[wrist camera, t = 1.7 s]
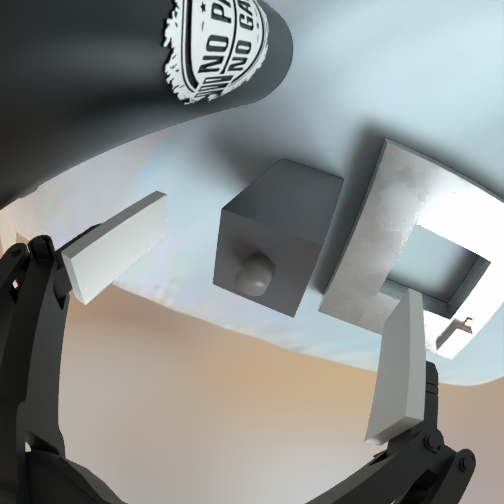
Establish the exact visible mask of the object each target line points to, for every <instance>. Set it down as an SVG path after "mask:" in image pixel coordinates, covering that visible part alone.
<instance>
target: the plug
mask: <svg viewBox="0 0 504 504" xmlns="http://www.w3.org/2000/svg"><path fill="white" fill-rule="evenodd" d="M343 181H344V179H342V178H339V177H337V176H334V175H331V174H328V173H325V172H322V171H320V170H317V169H314V168H311V167H308V166H305V165H302V164H298V163H295V162H292V161H289V160H286V159H281V160H279V161H278V162H277V163H276V164H274V165H273V166H272V167H271V168H270V169H268V170H267V171H266V172H265V173H263V174H262V175H261V176H260V177H259V178H257V179H256V180H255V181H254V182H253V183H251V184H250V185H249V186H248V187H247V188H245V189H244V190H243V191H242V192H241V193H239V194H238V195H237V196H236V197H235V198H234V199H232V200H231V201H230V202H229V203H228V204H226V205H225V206H224V207H223V208H222V210H221V217H220V226H219V234H218V242H217V251H216V260H215V269H214V279H213V284H214V285H217V286H219V287H221V288H223V289H226V290H228V291H230V292H233V293H235V294H237V295H240V296H242V297H244V298H247V299H249V300H252V301H254V302H256V303H259V304H261V305H264V306H266V307H269V308H271V309H273V310H276V311H278V312H281V313H283V314H286V315H288V316H291V317H293V318H294V316H295V313H296V311H297V309H298V306H299V304H300V301H301V299H302V297H303V294H304V292H305V289H306V287H307V285H308V282H309V280H310V277H311V275H312V272H313V270H314V267H315V265H316V262H317V259H318V257H319V254H320V252H321V249H322V246H323V244H324V241H325V238H326V235H327V232H328V229H329V226H330V223H331V220H332V216H333V213H334V210H335V207H336V204H337V201H338V197H339V194H340V191H341V188H342V184H343Z"/></svg>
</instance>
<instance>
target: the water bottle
mask: <svg viewBox="0 0 504 504" xmlns="http://www.w3.org/2000/svg"><path fill="white" fill-rule="evenodd" d="M292 56H293V41H292V36H291V33H290V30H289V28H288V26H287V24H286V22H285V21H284V20H283V18H282V17H281V16H280V15H279V14H278V13H277V12H276V11H275V10H273V9H272V8H271V7H270V6H269V5H267V4H266V3H265V2H264V1H262V0H0V210H1V209H3V208H4V207H6V206H7V205H9V204H10V203H12V202H13V201H15V200H16V199H18V198H19V197H21V196H23V195H24V194H26V193H28V192H29V191H31V190H32V189H34V188H36V187H38V186H39V185H41V184H43V183H44V182H46V181H48V180H50V179H52V178H53V177H55V176H57V175H59V174H61V173H63V172H65V171H66V170H68V169H70V168H72V167H74V166H76V165H78V164H80V163H82V162H84V161H86V160H88V159H91V158H93V157H95V156H97V155H99V154H101V153H104V152H106V151H108V150H110V149H113V148H115V147H117V146H120V145H122V144H124V143H127V142H129V141H132V140H134V139H137V138H139V137H142V136H145V135H147V134H150V133H153V132H155V131H158V130H161V129H164V128H167V127H170V126H173V125H176V124H179V123H182V122H185V121H188V120H191V119H194V118H198V117H201V116H204V115H208V114H211V113H215V112H219V111H222V110H226V109H230V108H234V107H238V106H242V105H247V104H250V103H253V102H256V101H258V100H260V99H262V98H264V97H266V96H267V95H269V94H270V93H271V92H272V91H274V90H275V89H276V88H277V87H278V86H279V84H280V83H281V82H282V81H283V79H284V78H285V76H286V74H287V72H288V70H289V68H290V65H291V61H292Z"/></svg>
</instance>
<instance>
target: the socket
mask: <svg viewBox="0 0 504 504" xmlns="http://www.w3.org/2000/svg"><path fill="white" fill-rule="evenodd" d="M415 223H416V224H418V225H420V226H422V227H424V228H427V229H429V230H431V231H433V232H435V233H437V234H439V235H441V236H443V237H445V238H447V239H450V240H452V241H454V242H456V243H457V244H459V245H461V246H463V247H465V248H467V249H469V250H471V251H473V252H475V253H477V254H479V255H480V256H479V257H478V259H477V261H476V262H475V264H474V265H473V267H472V269H471V270H470V272H469V273H468V275H467V276H466V278H465V279H464V281H463V282H462V284H461V285H460V286H459V288H458V289H457V291H456V292H455V294H454V295H453V296H452V298H451V299H450V300H449V302H448V303H447V304H446V303H444V302H442V301H439V300H437V299H435V298H432V297H430V296H427V295H425V294H423V293H422V302H423V313H424V327H425V350H426V351H429V352H432V353H435V354H437V355H440V356H443V357H446V358H449V359H452V358H453V357H455V356H456V355H457V354H458V353H459V351H460V350H461V349H462V348H463V347H464V346H465V345H466V344H467V343H468V342H469V341H470V340H471V339H472V338H473V337H474V336H475V335H476V333H477V332H478V331H479V330H480V329H481V328H482V327H483V325H484V324H485V323H486V322H487V321H488V320H489V318H490V317H491V316H492V315H493V314H494V312H495V311H496V310H497V309H498V307H499V306H500V305H501V303H502V302H503V301H504V200H503V199H502V198H500V197H499V196H497V195H496V194H494V193H493V192H491V191H490V190H488V189H486V188H485V187H483V186H481V185H480V184H478V183H476V182H475V181H473V180H471V179H470V178H468V177H466V176H464V175H462V174H461V173H459V172H457V171H455V170H453V169H451V168H450V167H448V166H446V165H444V164H442V163H440V162H438V161H436V160H434V159H432V158H430V157H428V156H426V155H423V154H421V153H419V152H417V151H415V150H413V149H410V148H408V147H406V146H404V145H401V144H399V143H397V142H394V141H392V140H389V139H387V138H385V140H384V144H383V147H382V150H381V153H380V156H379V159H378V161H377V164H376V167H375V170H374V173H373V176H372V179H371V181H370V184H369V187H368V189H367V192H366V195H365V197H364V200H363V203H362V205H361V208H360V210H359V213H358V215H357V218H356V221H355V223H354V225H353V228H352V230H351V233H350V235H349V238H348V240H347V242H346V245H345V247H344V249H343V252H342V254H341V256H340V259H339V261H338V263H337V265H336V268H335V270H334V272H333V274H332V277H331V279H330V281H329V283H328V285H327V287H326V289H325V292H324V294H323V296H322V299H321V303H320V306H319V309H318V311H319V312H322V313H324V314H327V315H330V316H332V317H335V318H338V319H340V320H343V321H345V322H348V323H351V324H353V325H356V326H359V327H361V328H364V329H367V330H370V331H372V332H375V333H378V334H381V335H382V332H383V325H384V323H385V322H386V320H387V319H388V318H389V316H390V315H391V313H392V312H393V310H394V309H395V308H396V306H397V305H398V303H399V302H400V300H401V299H402V297H403V296H404V294H405V293H406V291H407V290H408V287H406V286H403V285H401V284H398V283H396V282H393V281H391V280H388V279H386V277H387V276H388V274H389V272H390V270H391V269H392V267H393V265H394V263H395V261H396V259H397V258H398V256H399V254H400V252H401V250H402V248H403V246H404V244H405V243H406V241H407V239H408V237H409V235H410V233H411V231H412V229H413V227H414V225H415Z"/></svg>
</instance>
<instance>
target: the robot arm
mask: <svg viewBox="0 0 504 504" xmlns="http://www.w3.org/2000/svg"><path fill="white" fill-rule="evenodd" d="M36 189H37V187H36V188H34V189H32V190H31V191H29V192H28V193H26V194H24V195H23V196H21V197H19V198H22V197H25V196H27V195H29V194H30V193H32V192H34V191H35V190H36ZM166 236H167V194H164V193H161V192H159V191H155V192H153V193H152V194H150V195H148V196H146V197H145V198H143V199H141V200H140V201H138V202H136V203H134V204H133V205H131V206H129V207H128V208H126V209H125V210H123V211H121V212H120V213H118V214H117V215H115V216H113V217H112V218H110V219H109V220H107V221H105V222H104V223H102V224H101V223H100V224H97V225H95V226H92V227H90V228H88V229H87V230H85V231H84V232H83V233H81V234H79V235H78V236H77V237H75V238H74V239H72V240H71V241H69V242H68V243H66V244H65V245H64V246H62V247H61V248H59V249H58V250H57V251H55V250H54V246H53V242H52V239H51V237H50V236H48V235H40V236H37V237H35V238H33V239H32V240H31V241H29V243H28V244H27V245H28V248H29V251H30V253H29V252H28V249H27V246H26V245H25V244H24V243H16V244H14V245H13V246H11V247H10V248H9V249H8V250H7V251H6V252H5V254H4V255H3V257H2V258H1V259H0V504H127V503H125V502H123V501H121V500H120V499H119V498H118V497H117V496H116V494H115V493H114V492H113V491H112V490H111V489H110V488H109V487H108V486H107V485H106V484H105V482H103V481H102V480H101V479H99V478H98V477H97V476H95V475H94V474H93V473H92V472H90V471H89V470H88V469H87V468H85V467H83V466H80V465H78V464H76V463H74V462H72V461H70V460H68V459H66V458H65V446H64V440H63V436H62V434H61V432H60V430H59V425H58V394H59V375H60V362H61V352H62V343H63V335H64V328H65V322H66V315H67V309H68V304H69V299H70V298H69V297H70V295H69V291H71V289H73V292H74V294H75V297H76V298H77V299H78V300H79V301H81V302H82V303H83V304H85V305H86V304H87V303H88V302H89V301H91V299H93V298H94V297H95V296H96V295H97V294H98V293H100V292H101V291H102V290H103V289H104V288H105V287H106V286H107V285H108V284H110V283H111V282H112V281H113V280H114V279H116V278H117V277H118V276H119V275H120V274H121V273H122V272H124V271H125V270H126V269H127V268H128V267H130V266H131V265H132V264H133V263H134V262H136V261H137V260H138V259H139V258H140V257H142V256H143V255H144V254H145V253H146V252H148V251H149V250H150V249H151V248H153V247H154V246H155V245H156V244H157V243H159V242H160V241H161V240H162V239H164V238H165V237H166ZM14 280H16V282H17V284H18V286H17V287H16V288H14V286H13V284H12V283H13V282H14ZM437 395H438V373H437V370H436V367H435V364H434V363H431V362H428V361H426V350H425V327H424V313H423V302H422V293H420V292H418V291H415V290H413V289H410V288H408V290H407V291H406V293H405V294H404V296H403V297H402V299H401V300H400V302H399V303H398V305H397V306H396V308H395V309H394V310H393V312H392V313H391V315H390V316H389V318H388V319H387V320H386V322H385V323H384V325H383V332H382V342H381V351H380V359H379V367H378V374H377V381H376V387H375V393H374V398H373V404H372V409H371V414H370V419H369V424H368V428H367V433H366V437H365V442H369V443H373V444H376V445H382V444H384V443H386V442H388V441H389V442H388V447H387V449H386V450H384V451H382V452H380V453H378V454H376V455H374V459H373V460H371V461H370V462H369V463H367V464H366V465H365V466H363V467H362V468H361V469H359V470H358V471H357V472H355V473H354V474H352V475H351V476H349V477H348V478H347V479H345V480H344V481H342V482H341V483H339V484H337V485H336V486H334V487H333V488H331V489H330V490H328V491H327V492H325V493H323V494H321V495H320V496H318V497H316V498H315V499H313V500H311V501H309V502H307V503H306V504H391V503H392V502H394V500H395V502H394V503H393V504H458V503H459V501H460V499H461V497H462V495H463V493H464V491H465V489H466V487H467V485H468V483H469V481H470V479H471V477H472V474H473V472H474V469H475V466H476V460H475V456H474V454H473V453H472V451H471V450H469V449H462V450H460V451H458V452H455V451H454V450H452V449H451V448H449V447H448V446H446V445H445V444H444V440H443V436H442V434H441V432H440V431H439V430H438V429H437V416H438V415H437V414H438V396H437ZM25 442H27V443H28V444H29V445H30V448H31V451H30V452H25Z"/></svg>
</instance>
